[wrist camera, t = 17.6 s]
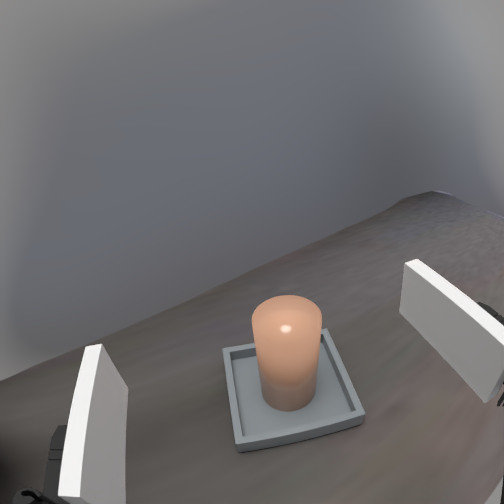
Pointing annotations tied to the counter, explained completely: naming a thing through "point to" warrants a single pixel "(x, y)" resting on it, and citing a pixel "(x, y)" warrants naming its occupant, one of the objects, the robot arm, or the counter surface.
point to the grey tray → (294, 422)
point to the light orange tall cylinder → (287, 350)
